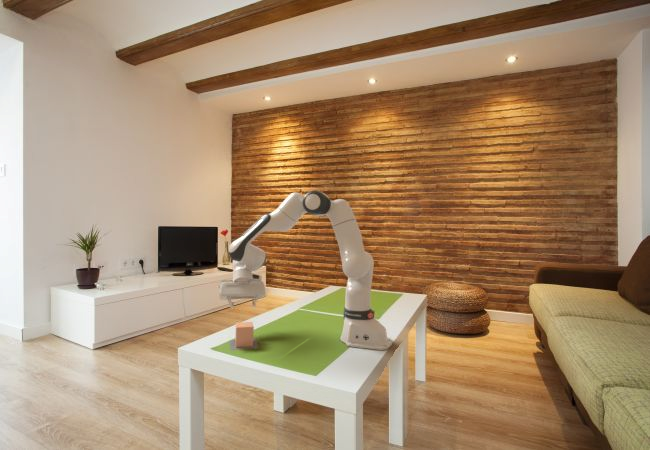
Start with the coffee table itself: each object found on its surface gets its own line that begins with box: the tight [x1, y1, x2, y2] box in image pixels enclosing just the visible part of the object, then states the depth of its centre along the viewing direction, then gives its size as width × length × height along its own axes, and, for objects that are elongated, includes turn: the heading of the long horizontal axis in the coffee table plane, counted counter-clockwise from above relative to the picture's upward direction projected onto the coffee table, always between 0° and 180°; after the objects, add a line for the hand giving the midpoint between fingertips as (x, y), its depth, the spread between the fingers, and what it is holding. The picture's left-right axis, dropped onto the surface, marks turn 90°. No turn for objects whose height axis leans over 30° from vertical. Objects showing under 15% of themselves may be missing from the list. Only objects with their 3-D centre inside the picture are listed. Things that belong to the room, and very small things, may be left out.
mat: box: [229, 338, 260, 351], centre depth 144 cm, size 11×11×1 cm
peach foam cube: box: [234, 321, 255, 347], centre depth 145 cm, size 7×7×8 cm
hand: (243, 306), depth 154 cm, fingers open, 8 cm apart
